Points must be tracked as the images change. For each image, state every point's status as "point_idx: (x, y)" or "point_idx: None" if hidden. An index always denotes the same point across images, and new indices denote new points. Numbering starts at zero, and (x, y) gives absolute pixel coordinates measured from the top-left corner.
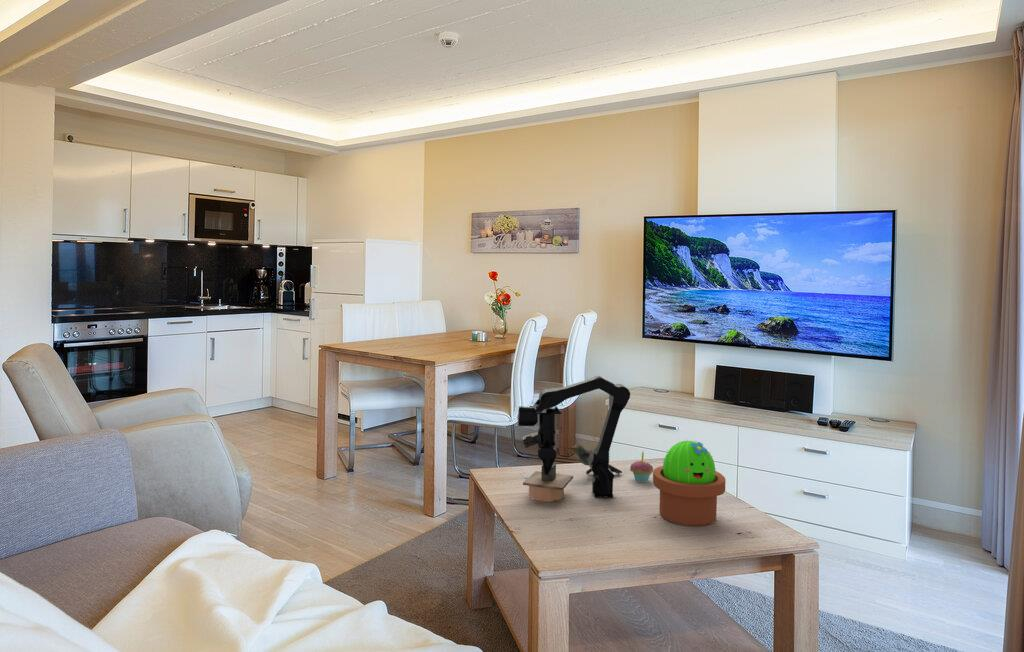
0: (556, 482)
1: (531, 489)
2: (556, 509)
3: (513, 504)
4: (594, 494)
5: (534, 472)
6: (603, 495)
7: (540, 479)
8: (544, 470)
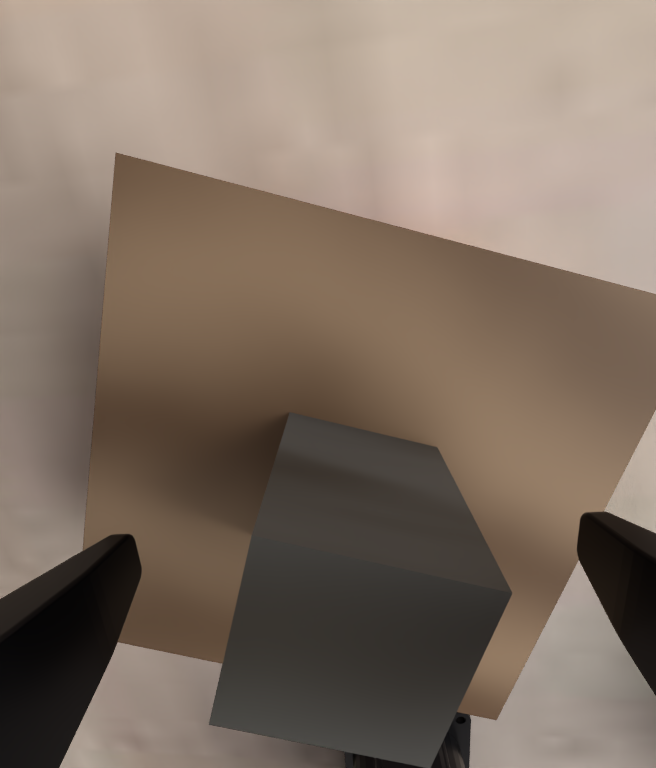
0: (233, 578)
1: None
2: (49, 486)
3: (36, 108)
4: None
5: (628, 294)
6: (352, 759)
7: (311, 399)
8: (35, 580)
